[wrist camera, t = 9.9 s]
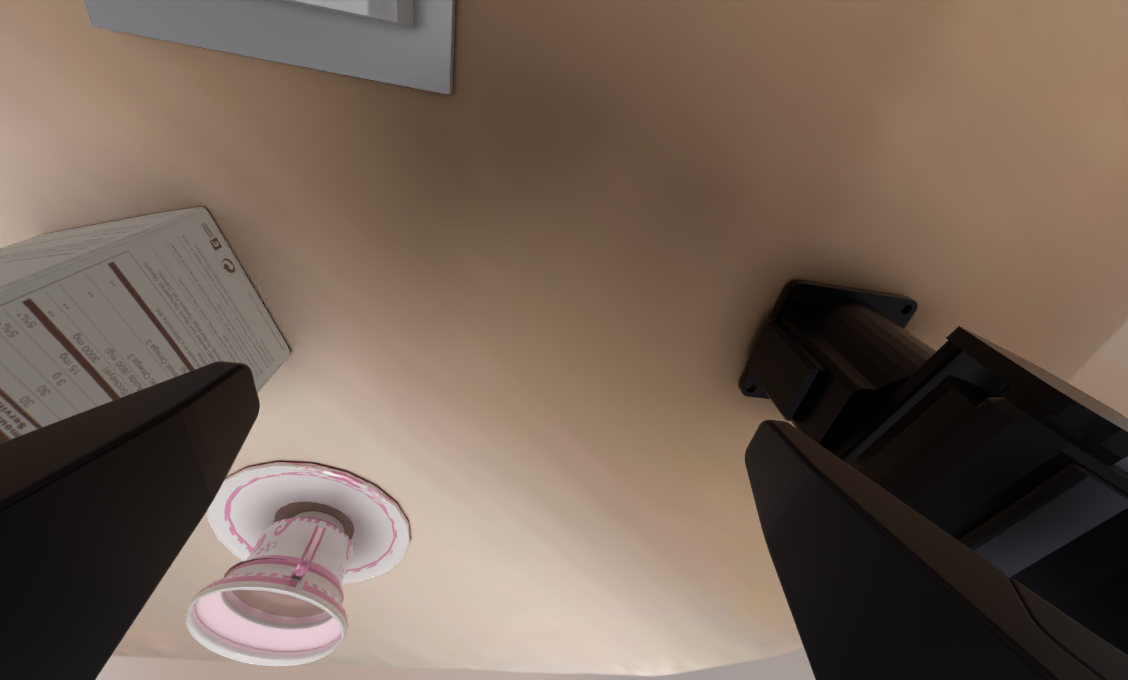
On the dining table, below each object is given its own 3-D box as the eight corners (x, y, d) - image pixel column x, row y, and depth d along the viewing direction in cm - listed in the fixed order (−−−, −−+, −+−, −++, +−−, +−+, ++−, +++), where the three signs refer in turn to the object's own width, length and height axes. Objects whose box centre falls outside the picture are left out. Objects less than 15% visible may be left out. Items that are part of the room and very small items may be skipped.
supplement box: (154, 377, 21) (-243, 688, 10) (36, 230, 17) (-787, 486, 7) (299, 355, 21) (43, 652, 10) (211, 201, 17) (-351, 420, 6)
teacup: (372, 592, 32) (339, 694, 27) (194, 544, 28) (115, 651, 23) (442, 502, 27) (418, 604, 22) (238, 428, 23) (149, 531, 18)
